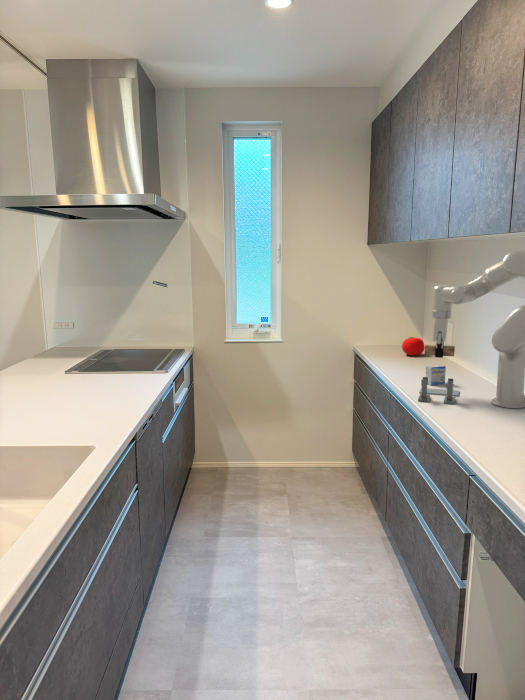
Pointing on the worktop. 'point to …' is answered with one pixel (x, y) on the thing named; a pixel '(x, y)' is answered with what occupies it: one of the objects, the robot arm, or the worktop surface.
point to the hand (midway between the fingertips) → (439, 356)
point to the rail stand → (425, 398)
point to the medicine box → (436, 374)
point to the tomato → (413, 346)
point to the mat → (439, 392)
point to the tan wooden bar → (446, 350)
